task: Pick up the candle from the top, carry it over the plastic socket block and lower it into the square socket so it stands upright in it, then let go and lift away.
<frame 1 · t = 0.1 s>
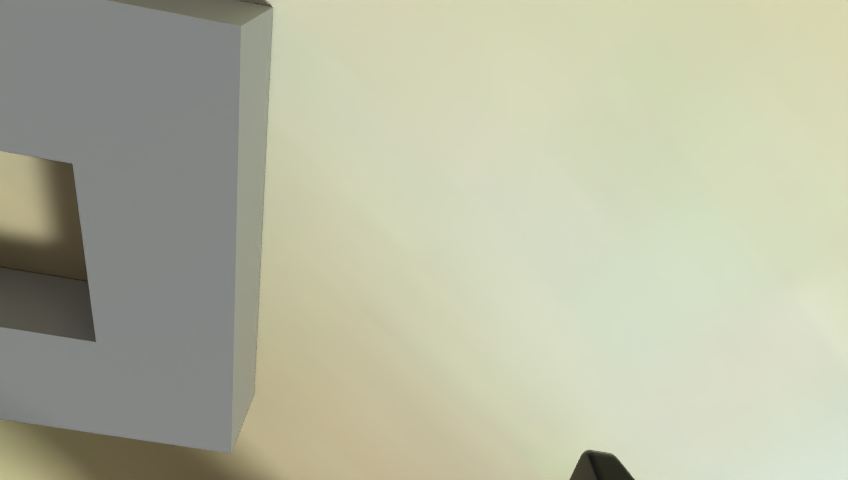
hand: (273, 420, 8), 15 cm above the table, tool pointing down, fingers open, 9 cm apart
socket block: (36, 198, 23), on the table
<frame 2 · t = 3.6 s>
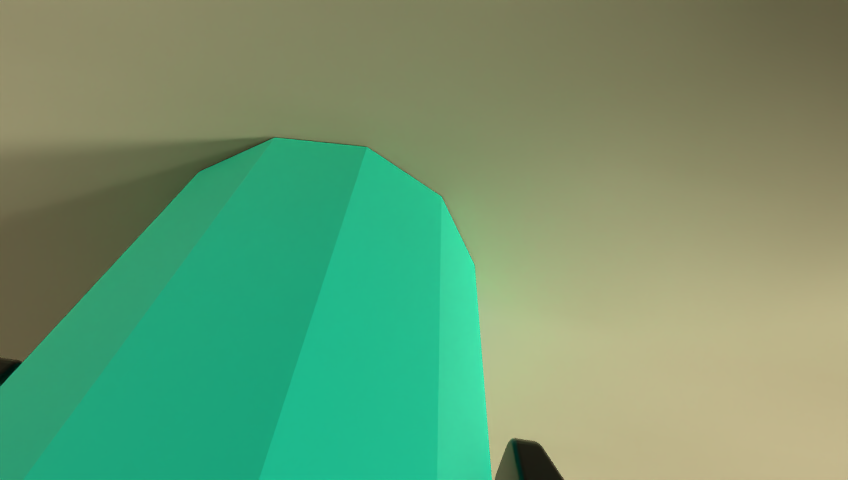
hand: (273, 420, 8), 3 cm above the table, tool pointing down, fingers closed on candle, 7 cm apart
candle: (321, 278, 11), on the table, touching gripper
when the fingers open (5 cm above the table, at t = 9.4 s): candle drops 1 cm, resting in socket block.
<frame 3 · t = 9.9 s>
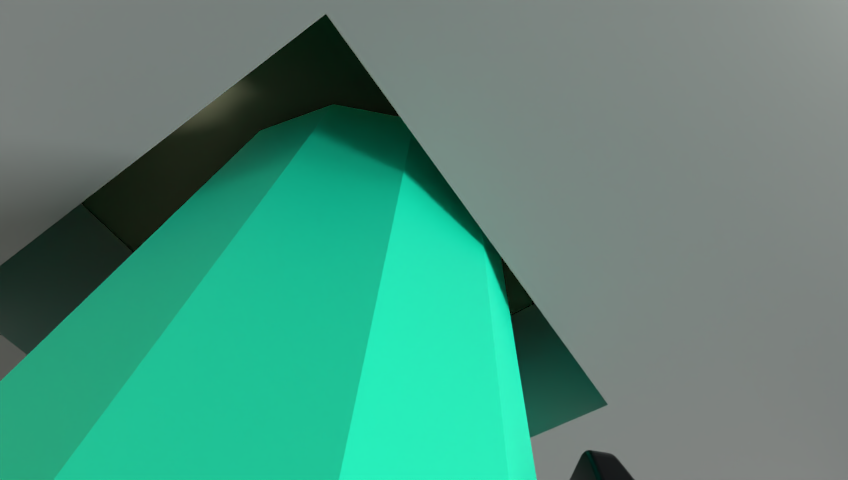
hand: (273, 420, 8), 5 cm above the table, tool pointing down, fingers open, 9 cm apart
socket block: (330, 244, 12), on the table
candle: (356, 241, 12), resting in socket block
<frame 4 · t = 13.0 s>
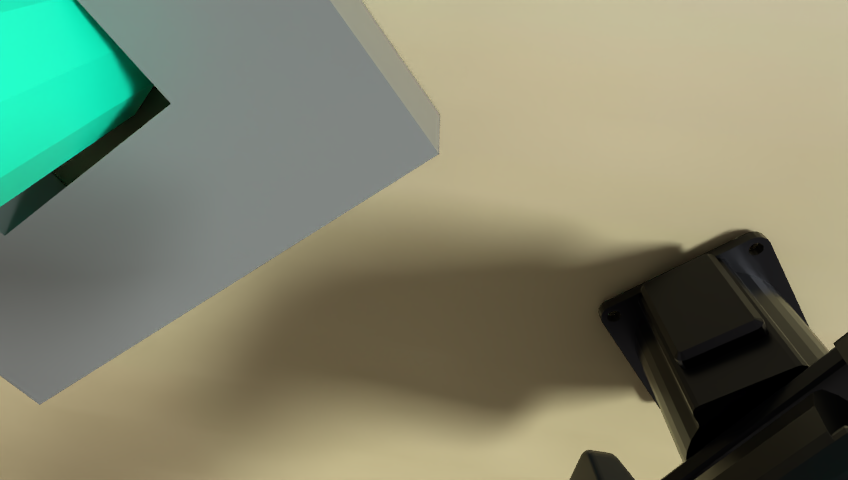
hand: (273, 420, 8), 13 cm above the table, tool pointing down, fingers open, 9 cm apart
socket block: (47, 39, 18), on the table
candle: (67, 35, 19), resting in socket block
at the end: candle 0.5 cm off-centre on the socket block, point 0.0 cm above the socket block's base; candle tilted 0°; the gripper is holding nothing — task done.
